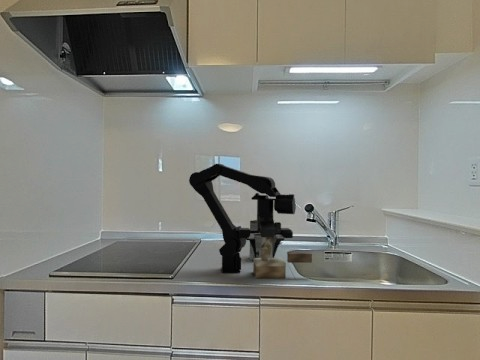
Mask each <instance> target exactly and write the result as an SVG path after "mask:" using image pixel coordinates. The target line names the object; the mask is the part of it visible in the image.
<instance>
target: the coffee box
mask: <svg viewBox="0 0 480 360" xmlns="http://www.w3.org/2000/svg"><path fill="white" fill-rule="evenodd" d="M273 221H274V222H275V220H274V219H273ZM249 229H250V230H257V219H253V220H249ZM254 238H255V244H256V258H261V248H268V258H273V257H272V249H273V237H261V236H254ZM254 258H255V256H254V253H253V249H252V246H251V243H250V242H249V260H250V261H254Z"/></svg>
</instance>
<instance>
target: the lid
mask: <svg viewBox="0 0 480 360" xmlns="http://www.w3.org/2000/svg"><path fill="white" fill-rule="evenodd" d="M253 261H254V263H255V265H256V266H286V267H287V264H286V262H285V260H284V259H283V258H282V257H274V258H268V248H261V258H254V260H253Z"/></svg>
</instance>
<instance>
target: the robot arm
mask: <svg viewBox="0 0 480 360" xmlns="http://www.w3.org/2000/svg"><path fill="white" fill-rule="evenodd" d="M220 176H221V177H224V178H226V179H229V180H232V181H234V182H237V183H241V184H244V185H246V186H248V187H250V188H251V189H252V190H254V191H256V193H255V194H254V195H253V196H252V197H251V200H253V201H254V200H255V201H256V200H257V201H256V220H257V230H250V227H242V226H241V225H239V226H236V225H235V224H234V223H233V221H232V220H231V218H230V216H229V215H228V213H227V211H226V210H225V208H224V206H223V205H222V203H221V201H220V200H219V197H218V196H217V195H216V192H215V191H214V186H213V181H215V180H216V179H217V178H219V177H220ZM188 182H189V185H190V186H191V188H192V189H193V190H194V191H195V192H196V193H198V194H199V195H200V196H201V197H202V199H203V200H204V202H205V203H206V205H207V207H208V209H209V210H210V213H212V215H213V217H214V219H215V222H217V224H218V226H219V227H220V230H221V232H222V239H223V242H224V244H223V245H222V246H221V247H220V248H219V249H218V251H219V254H220V256H221V267H220V269H221V273H223V274H224V273H230V274H231V273H232V274H233V273H236V274H237V273H241V271H242V258H241V255H240V253H241V251H242V249H243V248H244V247H246V244H247V242H248V241H249V244H250V243H251V246H252V249H253V253H254V256H255V258H256V244H255V238H254V236H261V237H273V249H272V257H273V258H275V255H276V253H277V251H278V248H279V246H280V244H281V243H282V242H283V241H285V239H293V237H294V235H293V234H294V233H293V230H292V229H290V228H289V227H282V223H281V222H280V221H279V222H277V221H276V222H275V220H274V211H275V212H276V213H277V214H279V215H280V214H281V215H295V213H296V210H297V209H296V207H297V204H296V199H295V194H294V193H293V194H292V193H290V194H281V193H280V191H279V190H278V188H277V187H276V182H275V180H274V178H272V177H269V176H264V175H254V174H250V173H247V172H244V171H241V170H238V169H236V168H232V167H229V166H227V165H224V164H221V163H214V164H213V165H212V166H210V167H207V168H204V169H203V170H200V171H195V172H192V173H191V174H190V176H189V179H188ZM273 220H274V221H273Z"/></svg>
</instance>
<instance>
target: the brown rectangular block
mask: <svg viewBox="0 0 480 360" xmlns="http://www.w3.org/2000/svg"><path fill="white" fill-rule="evenodd" d="M286 258H287V259H286V260H287V261H286V262H287V263H290V264H292V263H293V264H294V263H295V264H297V263H298V264H301V263H303V264H304V263H305V264H307V263H312V262H313V261H312V260H313V253H311V252H287V253H286Z"/></svg>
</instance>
